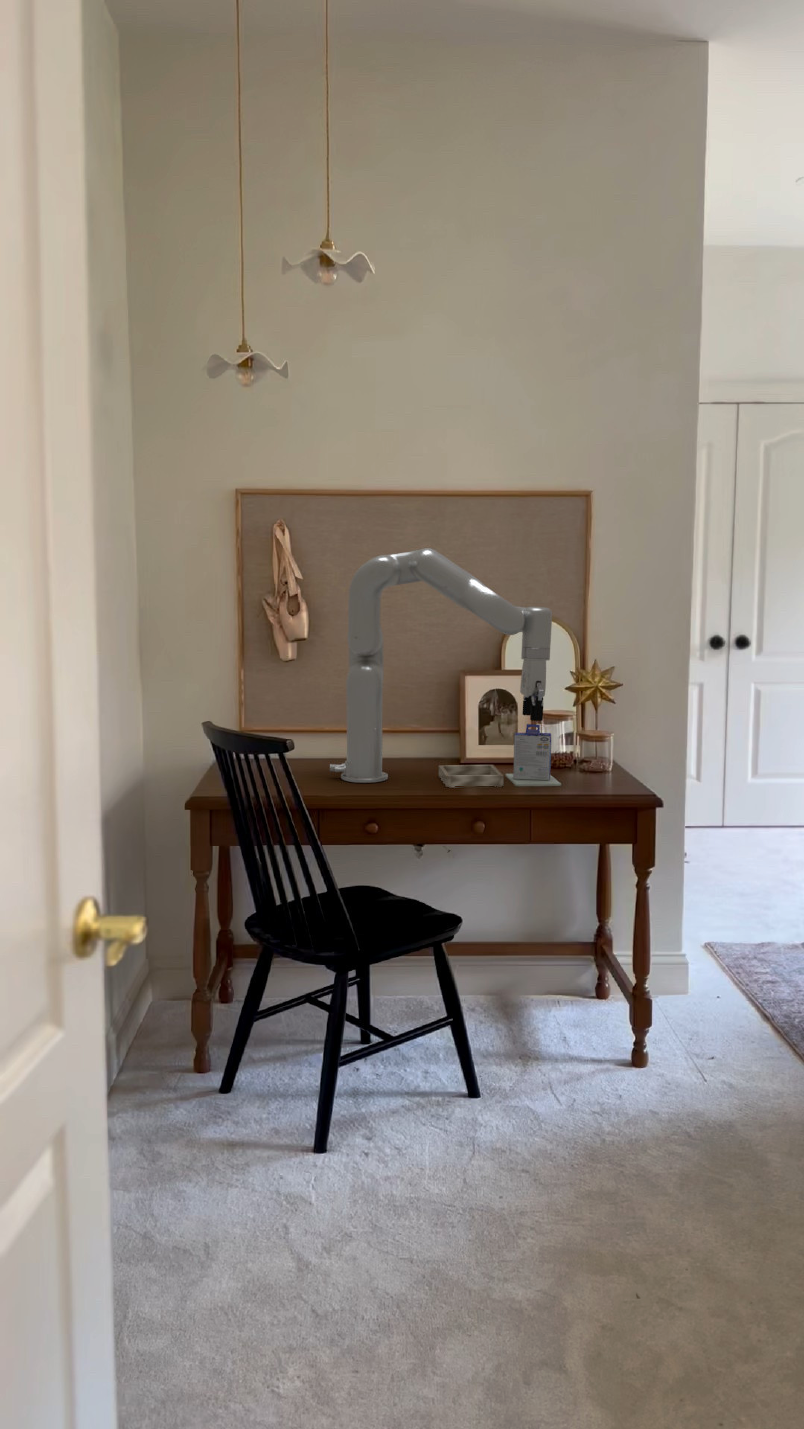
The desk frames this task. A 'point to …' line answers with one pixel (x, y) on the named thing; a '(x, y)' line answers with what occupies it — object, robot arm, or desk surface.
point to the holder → (470, 775)
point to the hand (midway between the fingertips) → (532, 717)
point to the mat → (533, 781)
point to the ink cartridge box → (532, 754)
